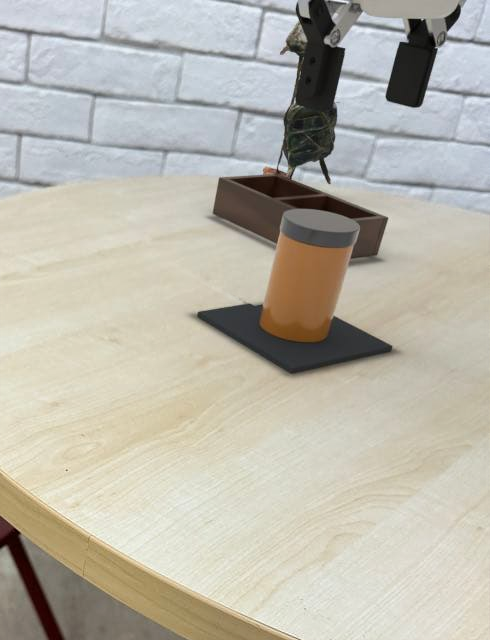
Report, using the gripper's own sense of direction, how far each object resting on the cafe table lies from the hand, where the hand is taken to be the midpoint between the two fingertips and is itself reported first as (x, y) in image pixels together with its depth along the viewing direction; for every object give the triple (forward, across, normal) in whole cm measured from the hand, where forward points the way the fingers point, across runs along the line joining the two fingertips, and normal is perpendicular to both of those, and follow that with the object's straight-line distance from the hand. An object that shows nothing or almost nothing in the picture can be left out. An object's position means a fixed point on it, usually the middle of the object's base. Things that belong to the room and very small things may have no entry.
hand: (359, 106), depth 63 cm
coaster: (+18, -1, 0) cm, 18 cm away
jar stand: (+18, +19, +22) cm, 34 cm away
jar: (+18, -1, 0) cm, 18 cm away
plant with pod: (+18, +32, +36) cm, 52 cm away
